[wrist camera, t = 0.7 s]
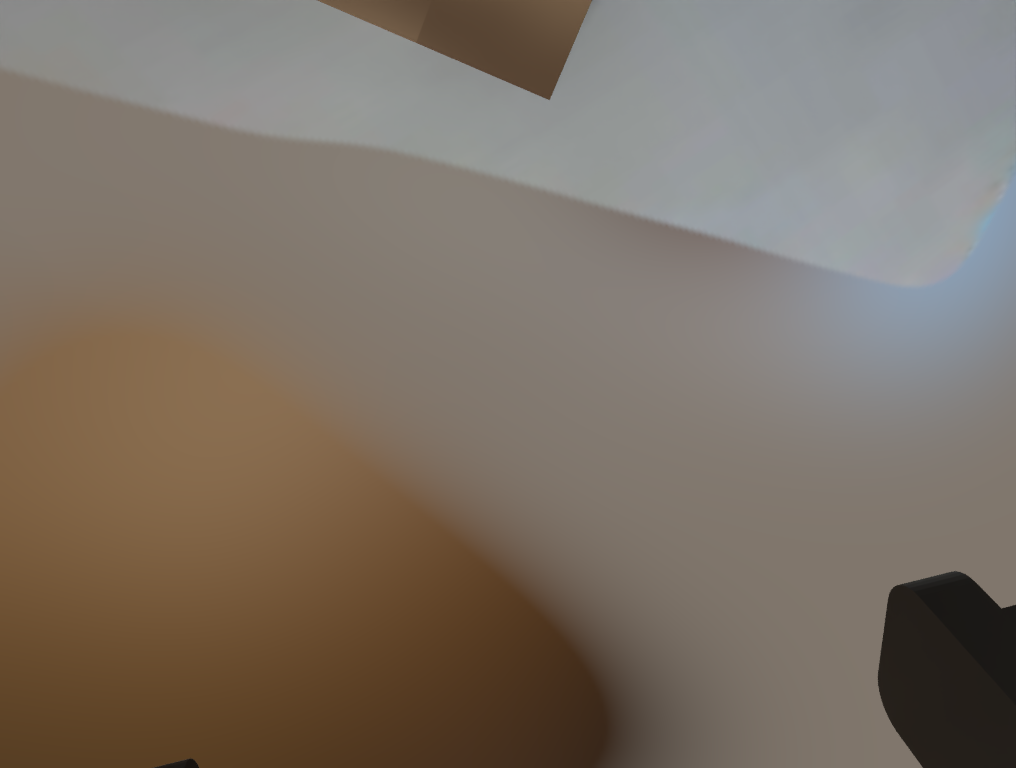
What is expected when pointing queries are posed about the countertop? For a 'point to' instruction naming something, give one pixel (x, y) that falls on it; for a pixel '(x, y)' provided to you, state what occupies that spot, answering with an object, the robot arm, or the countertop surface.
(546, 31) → the socket board
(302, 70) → the countertop surface
